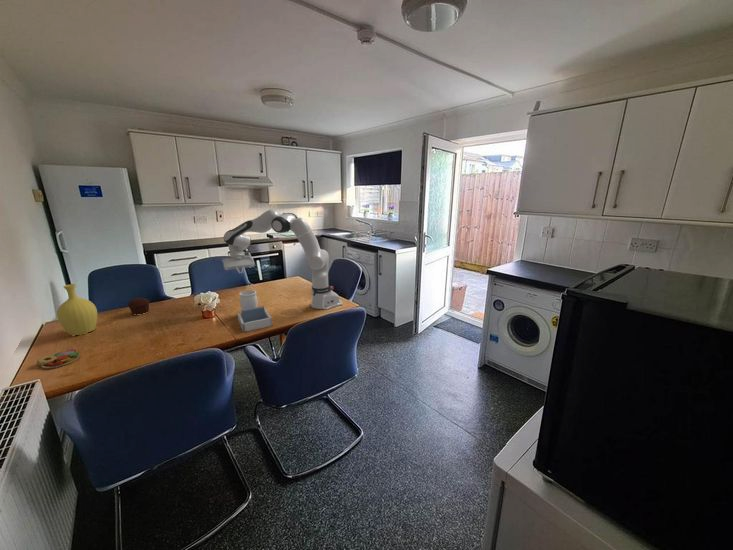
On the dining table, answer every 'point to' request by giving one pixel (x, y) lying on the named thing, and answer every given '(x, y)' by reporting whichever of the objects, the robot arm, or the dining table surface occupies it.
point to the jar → (248, 299)
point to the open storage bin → (255, 323)
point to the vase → (77, 313)
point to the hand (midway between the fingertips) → (241, 273)
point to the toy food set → (58, 359)
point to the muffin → (139, 306)
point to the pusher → (253, 314)
